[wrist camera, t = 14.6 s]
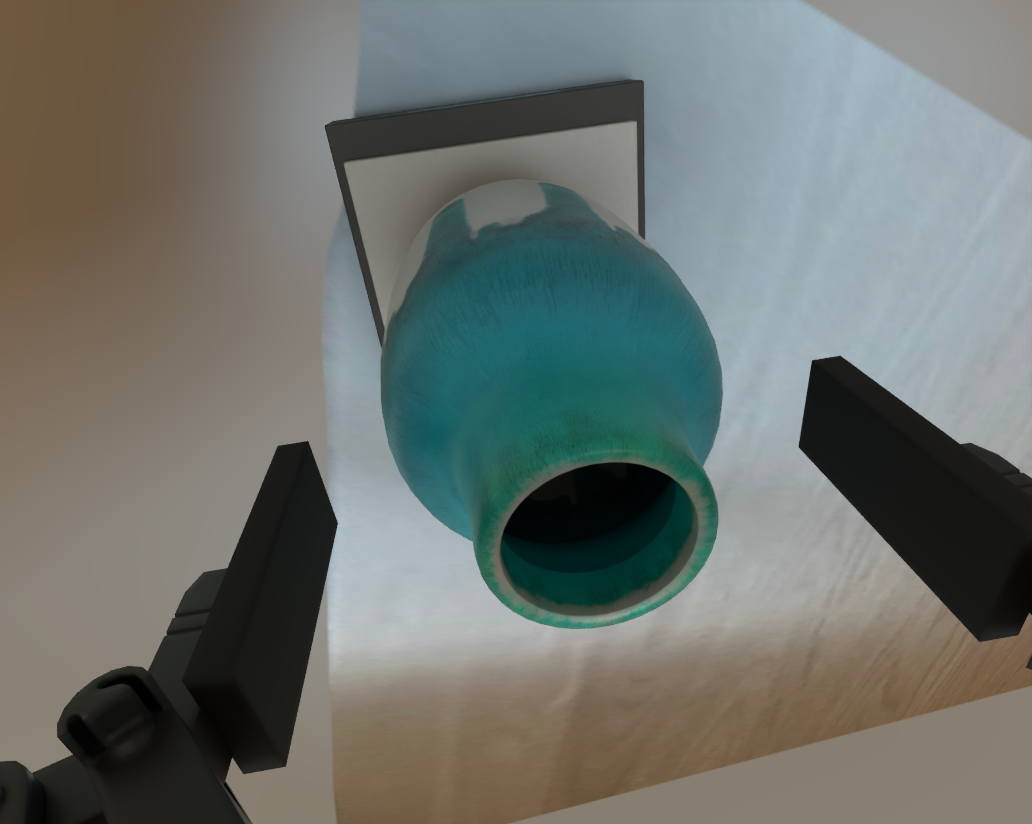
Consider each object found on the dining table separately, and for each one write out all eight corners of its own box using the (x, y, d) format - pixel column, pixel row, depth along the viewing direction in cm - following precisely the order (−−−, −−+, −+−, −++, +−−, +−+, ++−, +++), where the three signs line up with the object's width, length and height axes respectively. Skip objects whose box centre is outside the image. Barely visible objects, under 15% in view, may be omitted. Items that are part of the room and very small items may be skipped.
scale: (331, 121, 28) (321, 126, 25) (629, 79, 28) (648, 80, 26) (401, 402, 35) (399, 426, 33) (635, 365, 36) (649, 386, 33)
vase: (634, 336, 32) (848, 631, 15) (444, 398, 32) (451, 748, 16) (587, 124, 26) (841, 226, 10) (361, 203, 27) (238, 425, 10)
